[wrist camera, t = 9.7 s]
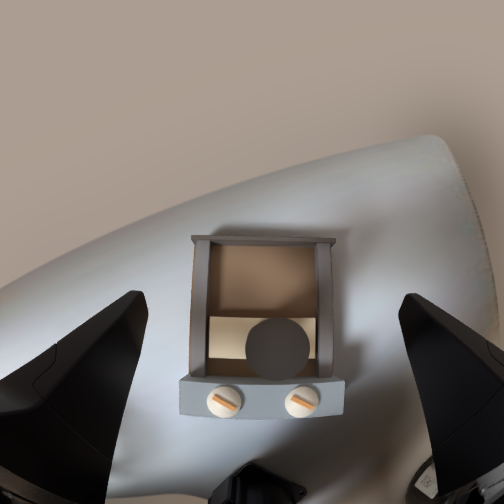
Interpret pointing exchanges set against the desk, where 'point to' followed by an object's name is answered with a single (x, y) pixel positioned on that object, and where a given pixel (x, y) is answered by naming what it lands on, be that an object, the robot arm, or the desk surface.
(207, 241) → the open grey box
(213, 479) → the desk surface
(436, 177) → the desk surface
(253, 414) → the gauge cabinet
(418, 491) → the ink bottle
